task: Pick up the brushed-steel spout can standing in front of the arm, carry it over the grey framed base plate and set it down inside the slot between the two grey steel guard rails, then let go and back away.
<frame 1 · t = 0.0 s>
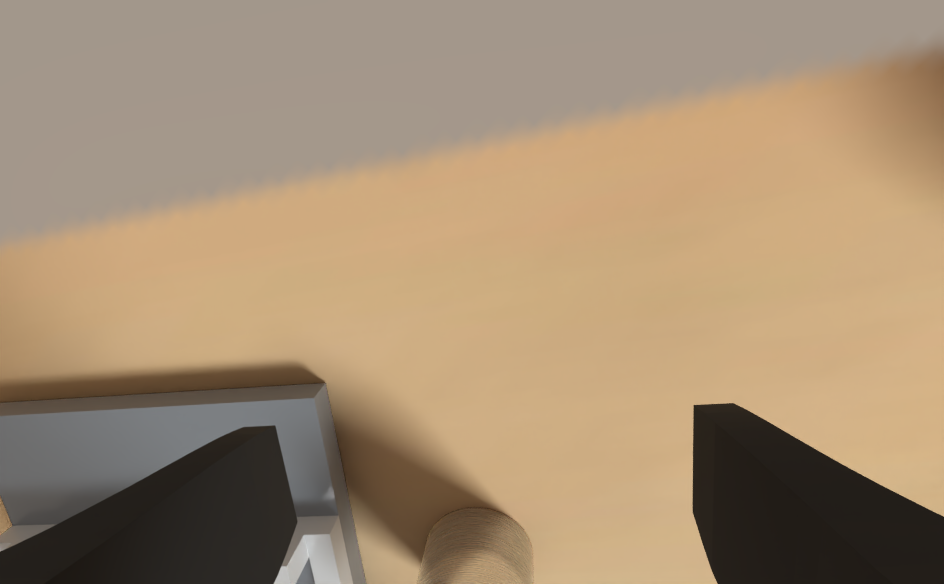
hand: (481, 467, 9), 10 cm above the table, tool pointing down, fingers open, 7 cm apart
spout can: (479, 552, 22), on the table
grey framed base plate: (210, 578, 24), on the table
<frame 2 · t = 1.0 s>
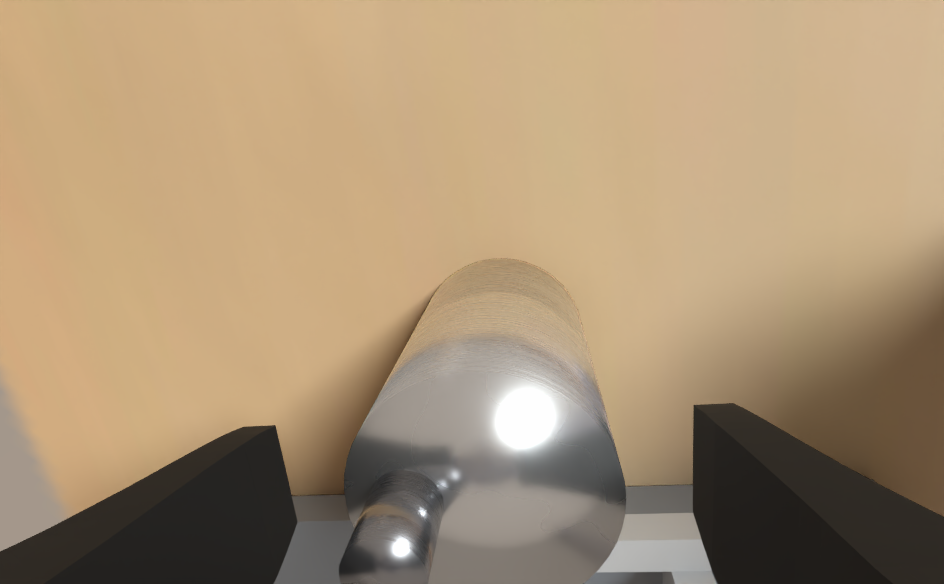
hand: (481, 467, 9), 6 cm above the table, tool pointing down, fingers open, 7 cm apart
spout can: (501, 335, 15), on the table
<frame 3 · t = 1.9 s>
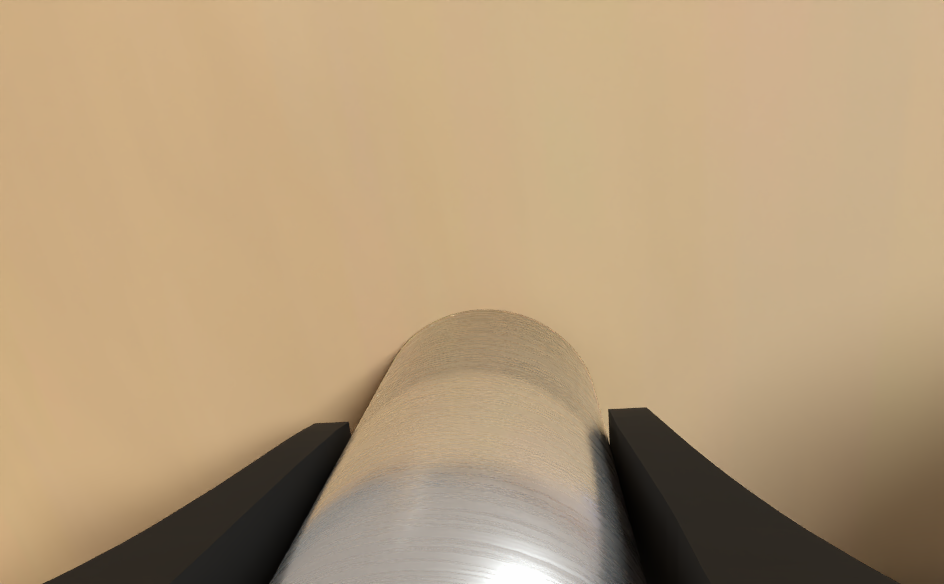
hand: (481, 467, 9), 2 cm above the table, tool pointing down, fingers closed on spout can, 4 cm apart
spout can: (488, 411, 11), on the table, touching gripper
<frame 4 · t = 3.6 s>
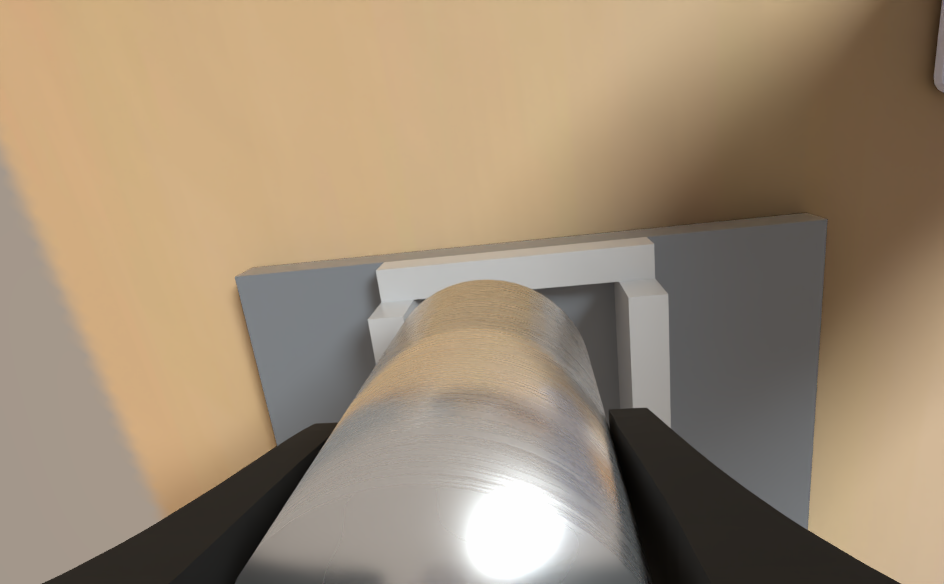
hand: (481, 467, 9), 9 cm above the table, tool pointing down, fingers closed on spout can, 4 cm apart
spout can: (488, 376, 12), point 7 cm above the table, touching gripper
grey framed base plate: (531, 431, 20), on the table
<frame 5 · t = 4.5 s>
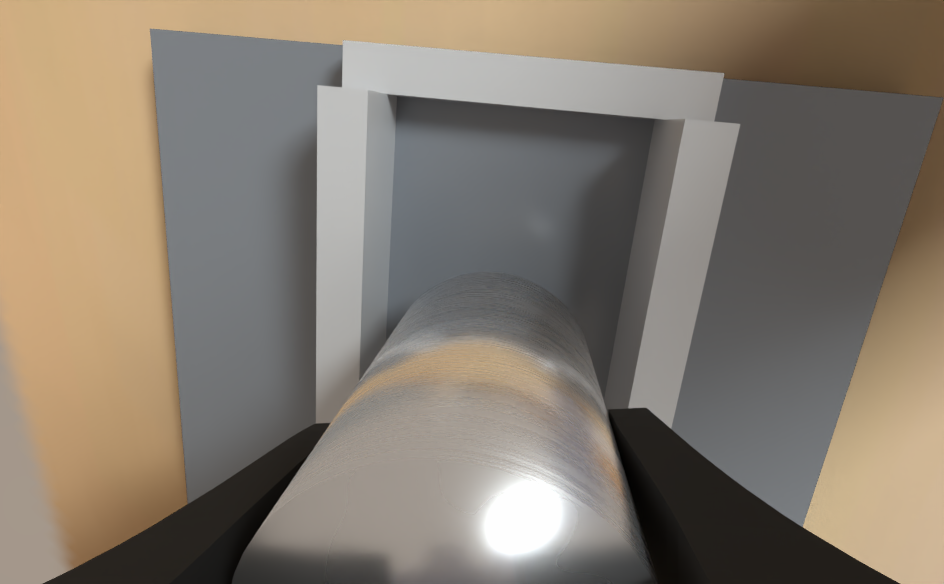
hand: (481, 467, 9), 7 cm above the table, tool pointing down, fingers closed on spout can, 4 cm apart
spout can: (488, 368, 12), point 4 cm above the table, touching gripper
grey framed base plate: (499, 329, 16), on the table
when the fingers open (4 cm above the table, at t = 5.4 s): spout can stays where it is, resting on grey framed base plate.
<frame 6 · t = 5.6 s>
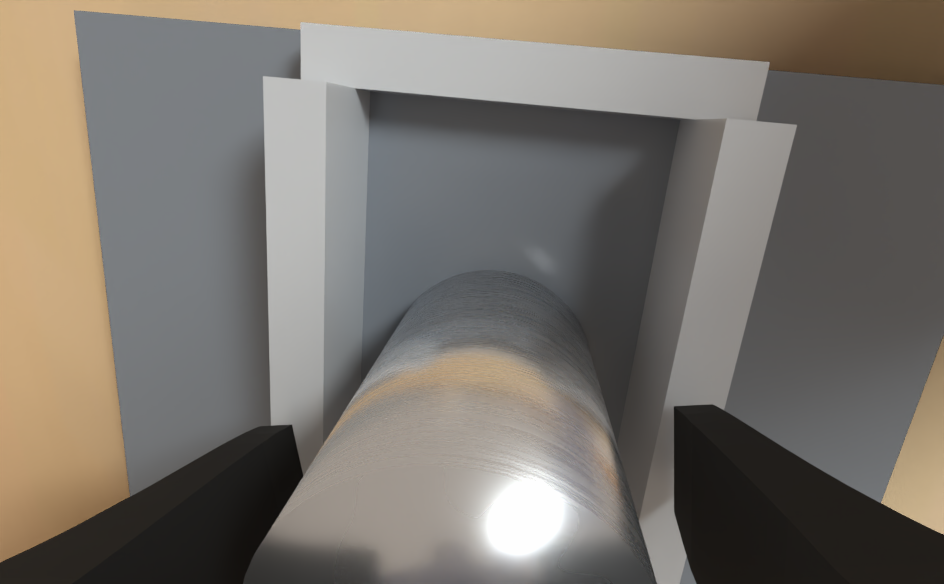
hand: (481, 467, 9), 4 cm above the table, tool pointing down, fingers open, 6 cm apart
spout can: (489, 365, 12), point 1 cm above the table, touching grey framed base plate
grey framed base plate: (494, 363, 13), on the table
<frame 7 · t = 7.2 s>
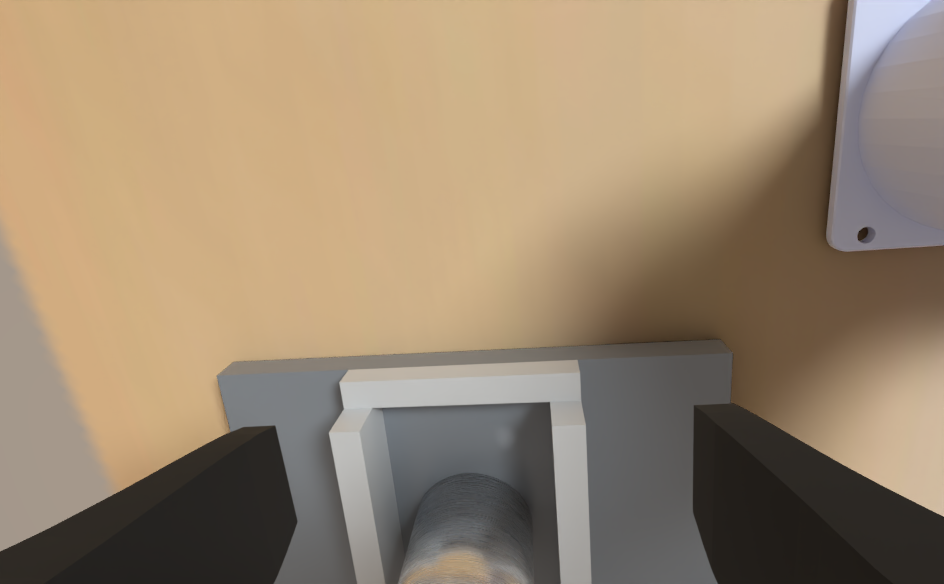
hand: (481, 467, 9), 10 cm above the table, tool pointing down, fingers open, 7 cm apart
spout can: (474, 522, 21), point 1 cm above the table, touching grey framed base plate
grey framed base plate: (480, 511, 22), on the table
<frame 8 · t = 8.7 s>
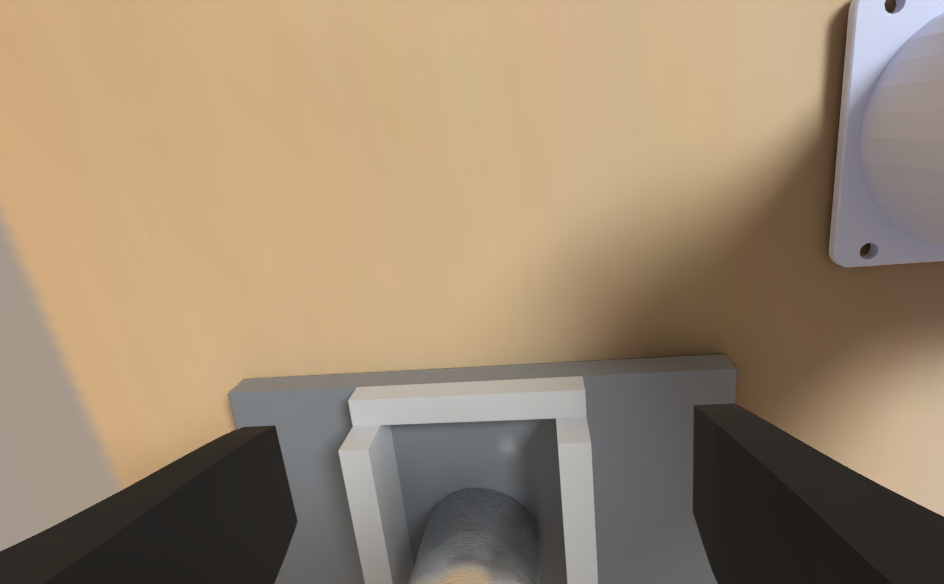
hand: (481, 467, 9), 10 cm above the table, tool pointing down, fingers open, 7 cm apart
spout can: (482, 536, 21), point 1 cm above the table, touching grey framed base plate
grey framed base plate: (488, 523, 22), on the table
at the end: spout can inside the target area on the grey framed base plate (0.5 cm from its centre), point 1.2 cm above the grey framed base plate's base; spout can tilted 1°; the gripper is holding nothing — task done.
